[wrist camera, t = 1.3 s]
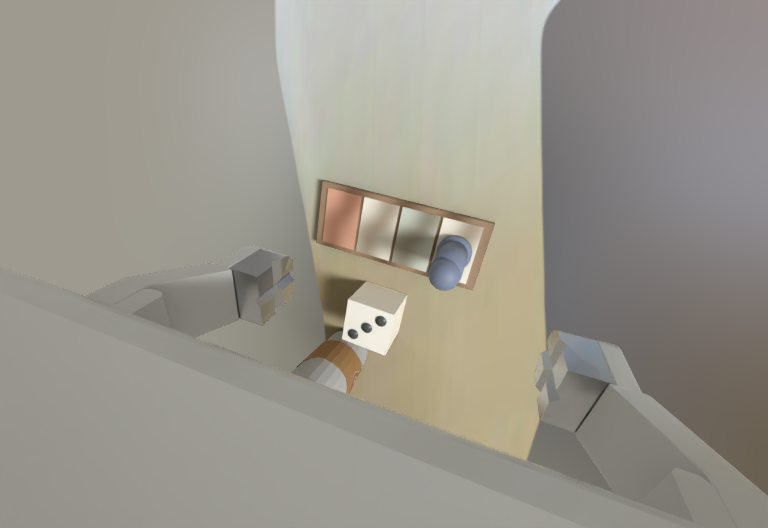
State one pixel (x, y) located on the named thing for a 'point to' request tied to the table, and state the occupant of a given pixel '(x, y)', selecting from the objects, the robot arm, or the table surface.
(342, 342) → the coffee cup
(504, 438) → the table surface
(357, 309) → the die
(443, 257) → the pawn
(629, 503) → the robot arm
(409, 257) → the board
